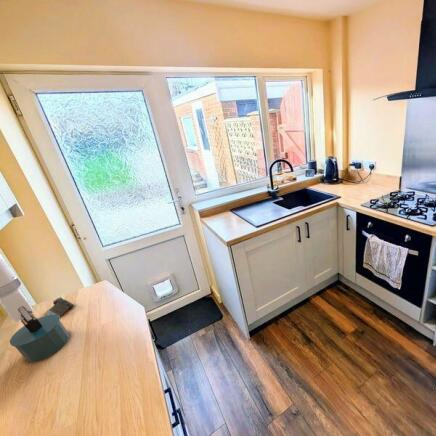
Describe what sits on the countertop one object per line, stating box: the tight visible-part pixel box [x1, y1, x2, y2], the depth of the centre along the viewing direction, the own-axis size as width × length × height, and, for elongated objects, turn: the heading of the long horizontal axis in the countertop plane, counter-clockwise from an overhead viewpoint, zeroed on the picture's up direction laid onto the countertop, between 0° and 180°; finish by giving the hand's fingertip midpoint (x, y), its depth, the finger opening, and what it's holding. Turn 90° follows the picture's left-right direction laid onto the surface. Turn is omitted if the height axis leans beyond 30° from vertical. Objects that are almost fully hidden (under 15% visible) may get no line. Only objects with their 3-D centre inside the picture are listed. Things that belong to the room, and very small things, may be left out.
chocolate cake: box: [45, 296, 75, 318], centre depth 107 cm, size 10×7×12 cm
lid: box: [9, 314, 61, 348], centre depth 87 cm, size 13×13×7 cm
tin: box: [15, 320, 70, 363], centre depth 90 cm, size 12×12×8 cm
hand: (34, 327), depth 88 cm, fingers closed on lid, 3 cm apart
